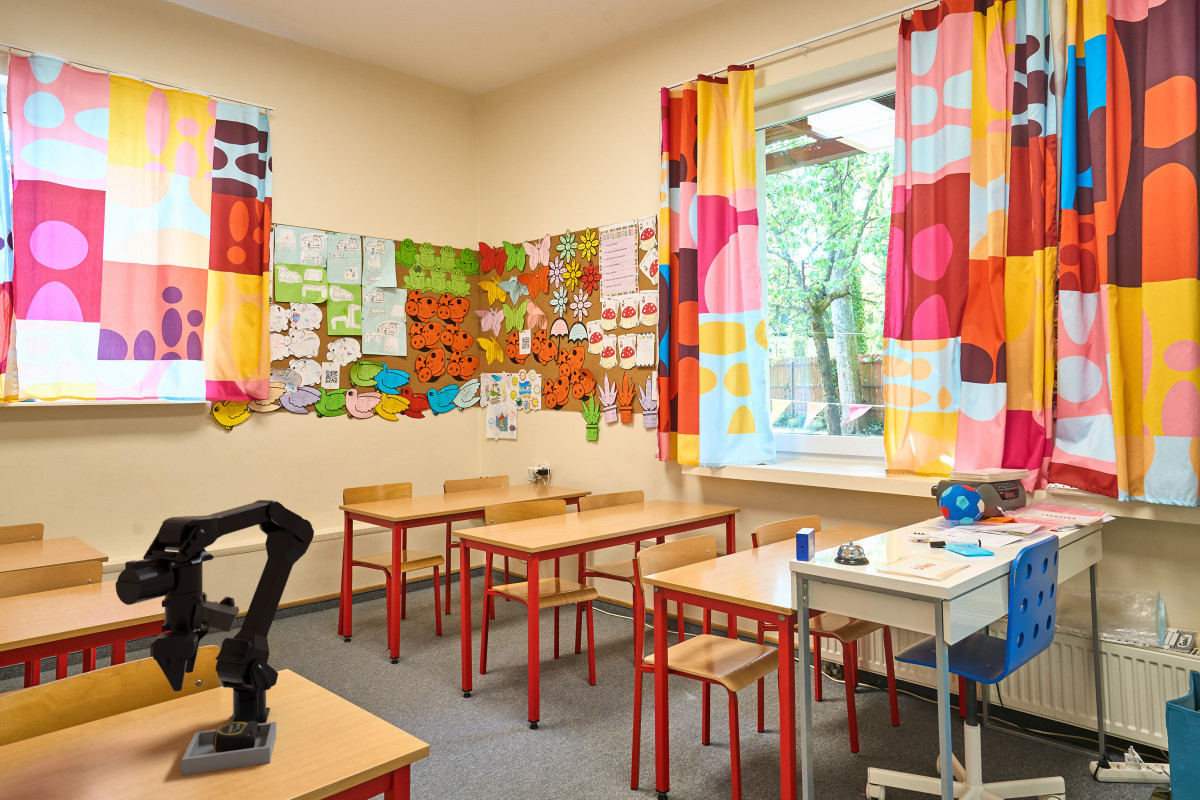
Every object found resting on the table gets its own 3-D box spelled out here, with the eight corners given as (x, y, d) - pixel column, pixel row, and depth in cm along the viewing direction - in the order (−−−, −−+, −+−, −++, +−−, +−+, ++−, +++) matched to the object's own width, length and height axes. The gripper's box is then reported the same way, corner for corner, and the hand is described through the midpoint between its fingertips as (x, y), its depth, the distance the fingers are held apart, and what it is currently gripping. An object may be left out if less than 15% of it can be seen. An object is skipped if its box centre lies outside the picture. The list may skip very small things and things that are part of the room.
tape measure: (254, 755, 125) (254, 733, 125) (209, 761, 123) (209, 739, 123) (260, 738, 131) (260, 717, 131) (217, 744, 129) (217, 722, 129)
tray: (195, 746, 130) (195, 731, 130) (276, 735, 134) (276, 721, 134) (181, 775, 119) (181, 759, 119) (269, 762, 123) (269, 747, 123)
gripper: (226, 599, 122) (226, 694, 122) (242, 575, 140) (243, 659, 139) (149, 605, 118) (149, 703, 118) (176, 580, 136) (176, 666, 136)
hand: (183, 681), depth 128 cm, fingers open, 9 cm apart
